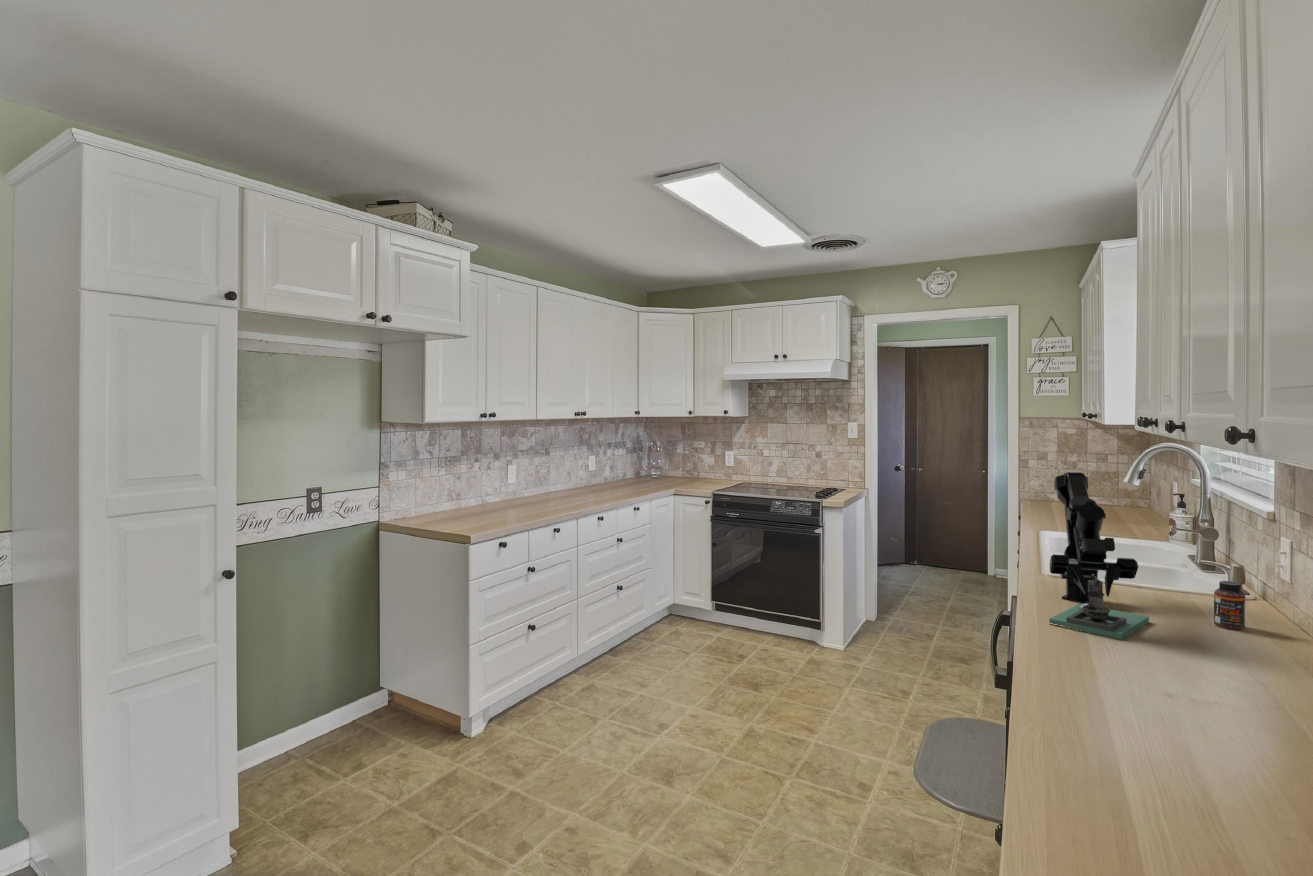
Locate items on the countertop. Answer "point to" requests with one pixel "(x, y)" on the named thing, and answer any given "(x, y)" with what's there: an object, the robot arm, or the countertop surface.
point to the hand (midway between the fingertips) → (1097, 595)
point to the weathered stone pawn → (1096, 603)
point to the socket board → (1117, 628)
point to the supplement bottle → (1229, 606)
